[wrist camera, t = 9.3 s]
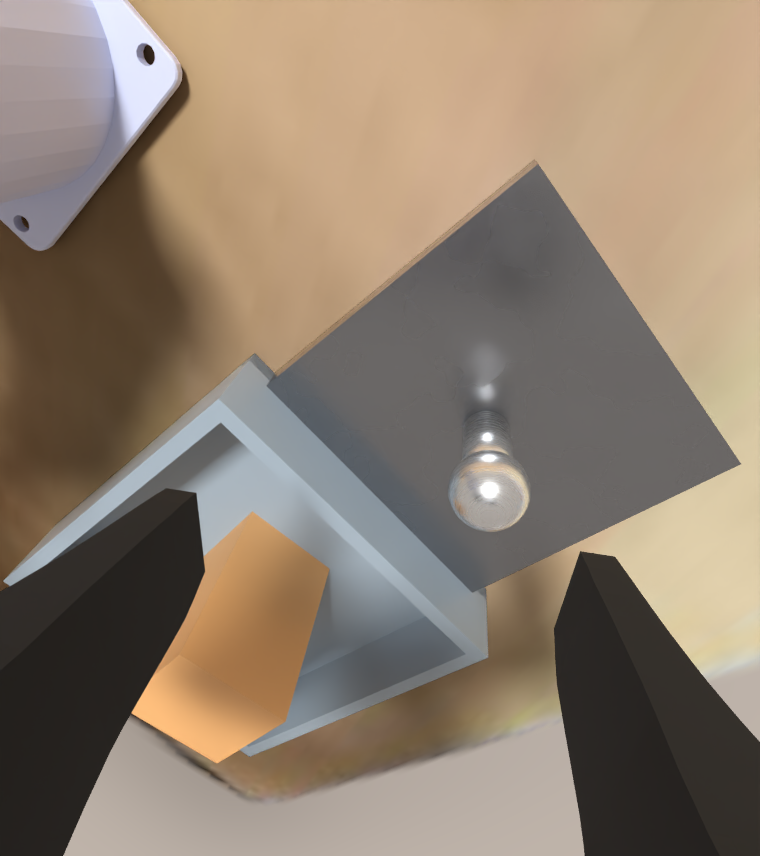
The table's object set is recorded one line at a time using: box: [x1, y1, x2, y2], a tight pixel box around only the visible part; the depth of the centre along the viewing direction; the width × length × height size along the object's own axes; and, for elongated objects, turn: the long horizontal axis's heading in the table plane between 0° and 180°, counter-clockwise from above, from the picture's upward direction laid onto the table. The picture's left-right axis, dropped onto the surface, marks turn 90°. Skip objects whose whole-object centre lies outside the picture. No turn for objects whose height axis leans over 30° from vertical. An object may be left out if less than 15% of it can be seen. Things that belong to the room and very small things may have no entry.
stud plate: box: [266, 160, 741, 593], centre depth 18 cm, size 12×12×6 cm
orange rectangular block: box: [132, 511, 329, 763], centre depth 22 cm, size 4×4×7 cm
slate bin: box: [3, 353, 488, 757], centre depth 24 cm, size 14×14×4 cm
